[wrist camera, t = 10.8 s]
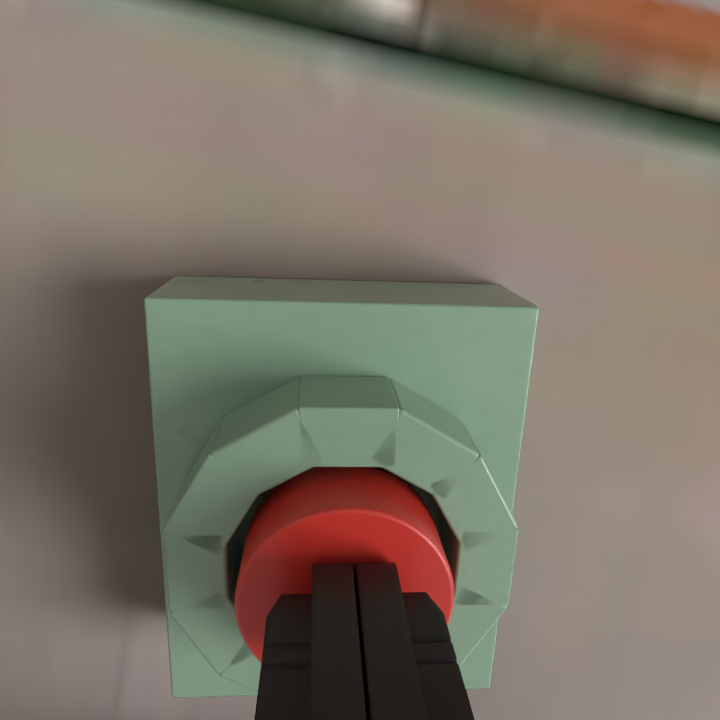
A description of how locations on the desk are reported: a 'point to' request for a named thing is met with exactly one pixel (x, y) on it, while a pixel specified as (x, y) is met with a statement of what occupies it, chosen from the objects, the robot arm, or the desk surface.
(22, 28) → the desk surface
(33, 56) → the desk surface
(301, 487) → the button
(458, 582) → the control block
